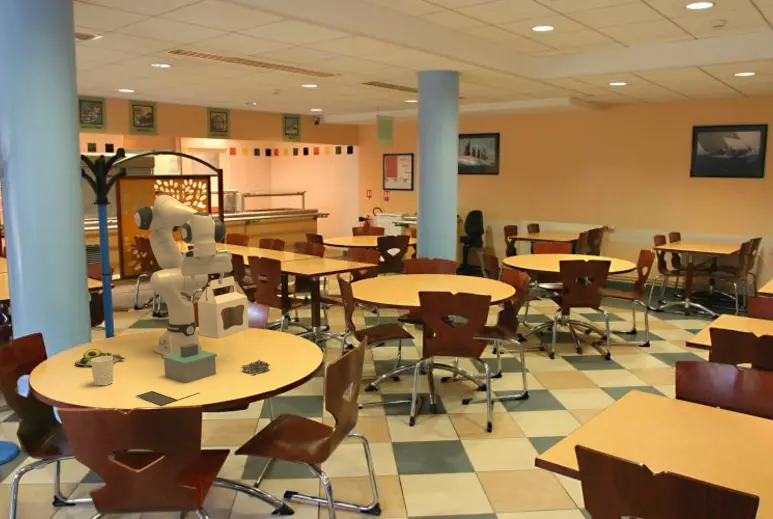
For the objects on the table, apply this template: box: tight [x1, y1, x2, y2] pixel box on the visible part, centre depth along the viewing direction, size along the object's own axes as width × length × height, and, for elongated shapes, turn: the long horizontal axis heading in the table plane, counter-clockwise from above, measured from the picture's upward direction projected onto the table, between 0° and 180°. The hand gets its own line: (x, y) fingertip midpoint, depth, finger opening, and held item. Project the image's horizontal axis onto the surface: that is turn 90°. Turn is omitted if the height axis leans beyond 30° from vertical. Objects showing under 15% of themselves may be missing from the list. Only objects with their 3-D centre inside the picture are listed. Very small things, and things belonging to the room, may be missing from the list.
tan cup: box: [91, 356, 114, 386], centre depth 251 cm, size 8×8×10 cm
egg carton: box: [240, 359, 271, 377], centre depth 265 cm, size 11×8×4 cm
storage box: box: [163, 357, 217, 384], centre depth 259 cm, size 14×14×8 cm
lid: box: [161, 343, 218, 365], centre depth 258 cm, size 15×15×6 cm
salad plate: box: [74, 348, 126, 367], centre depth 281 cm, size 19×18×5 cm
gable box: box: [197, 275, 249, 339], centre depth 329 cm, size 22×13×28 cm, turn 149°
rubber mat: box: [136, 390, 200, 407], centre depth 238 cm, size 16×16×1 cm
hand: (208, 285), depth 266 cm, fingers open, 8 cm apart
